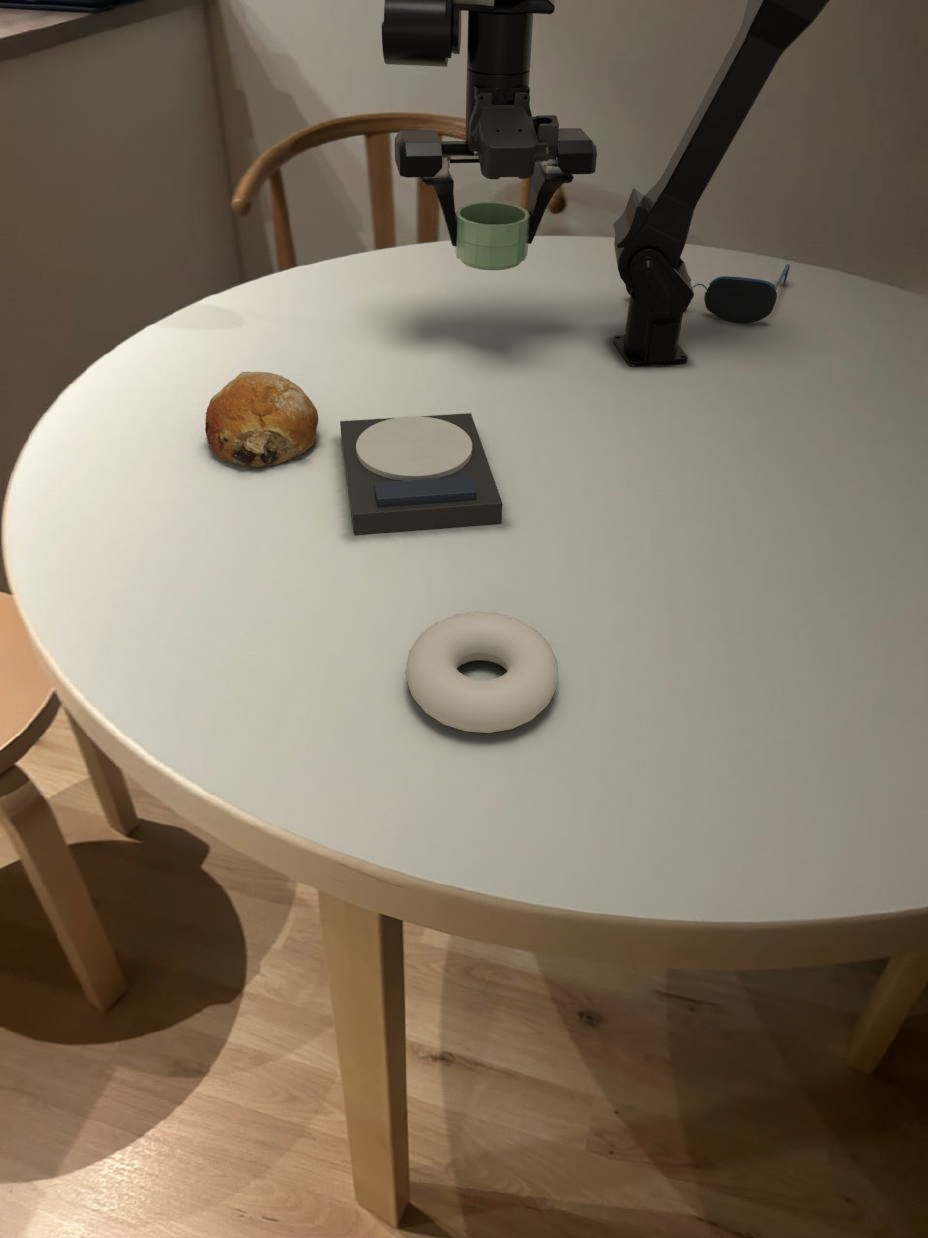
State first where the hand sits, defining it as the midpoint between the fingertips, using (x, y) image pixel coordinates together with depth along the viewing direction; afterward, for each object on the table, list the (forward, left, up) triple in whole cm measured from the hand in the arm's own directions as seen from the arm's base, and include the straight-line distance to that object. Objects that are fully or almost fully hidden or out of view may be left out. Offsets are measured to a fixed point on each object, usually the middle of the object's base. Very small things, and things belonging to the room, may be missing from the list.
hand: (491, 243), depth 97 cm
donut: (+52, -10, -11) cm, 54 cm away
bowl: (0, 0, -2) cm, 2 cm away
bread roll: (+18, -24, -11) cm, 32 cm away
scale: (+26, -11, -11) cm, 30 cm away
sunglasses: (-11, +29, -11) cm, 33 cm away
